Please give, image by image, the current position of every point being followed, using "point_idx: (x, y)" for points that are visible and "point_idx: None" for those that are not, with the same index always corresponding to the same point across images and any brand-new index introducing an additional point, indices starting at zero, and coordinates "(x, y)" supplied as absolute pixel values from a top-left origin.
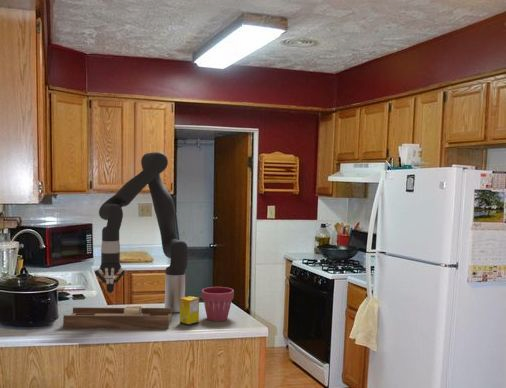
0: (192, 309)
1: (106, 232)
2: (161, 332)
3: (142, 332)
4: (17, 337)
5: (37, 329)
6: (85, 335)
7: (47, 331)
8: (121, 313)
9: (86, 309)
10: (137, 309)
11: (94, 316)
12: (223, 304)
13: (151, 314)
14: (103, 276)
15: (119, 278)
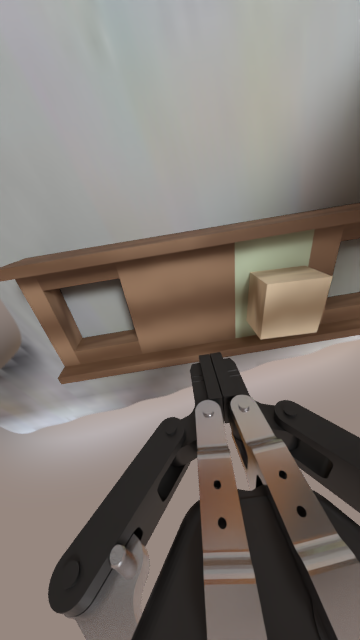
0: None
1: None
2: (342, 341)
3: (294, 349)
4: (30, 423)
5: (18, 376)
6: (166, 390)
7: (58, 384)
8: (222, 250)
9: (64, 269)
10: (312, 332)
11: (161, 366)
12: None
13: (346, 239)
14: (161, 476)
15: (324, 462)
